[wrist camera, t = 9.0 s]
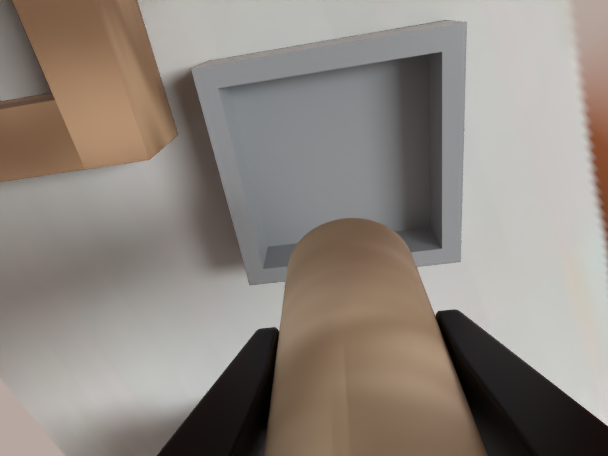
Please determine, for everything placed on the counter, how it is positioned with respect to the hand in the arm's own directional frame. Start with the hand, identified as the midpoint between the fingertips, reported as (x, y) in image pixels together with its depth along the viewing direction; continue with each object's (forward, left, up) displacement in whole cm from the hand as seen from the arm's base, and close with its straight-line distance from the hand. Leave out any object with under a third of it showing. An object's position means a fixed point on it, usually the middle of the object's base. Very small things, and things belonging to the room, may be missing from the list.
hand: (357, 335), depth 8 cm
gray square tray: (0, 0, -12) cm, 12 cm away
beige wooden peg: (0, 0, -2) cm, 2 cm away
